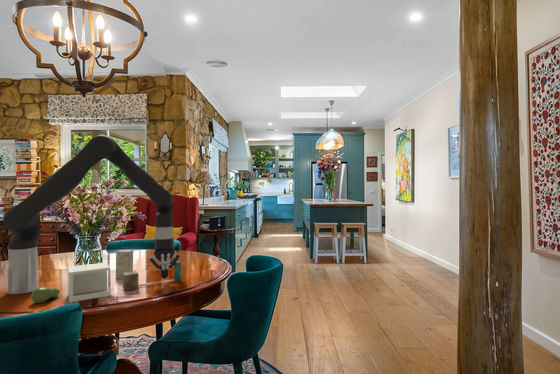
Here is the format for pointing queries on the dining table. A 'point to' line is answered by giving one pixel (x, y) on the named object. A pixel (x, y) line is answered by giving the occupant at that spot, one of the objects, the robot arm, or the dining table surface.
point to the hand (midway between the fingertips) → (164, 278)
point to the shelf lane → (87, 281)
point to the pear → (44, 294)
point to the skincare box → (124, 262)
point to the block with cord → (132, 283)
